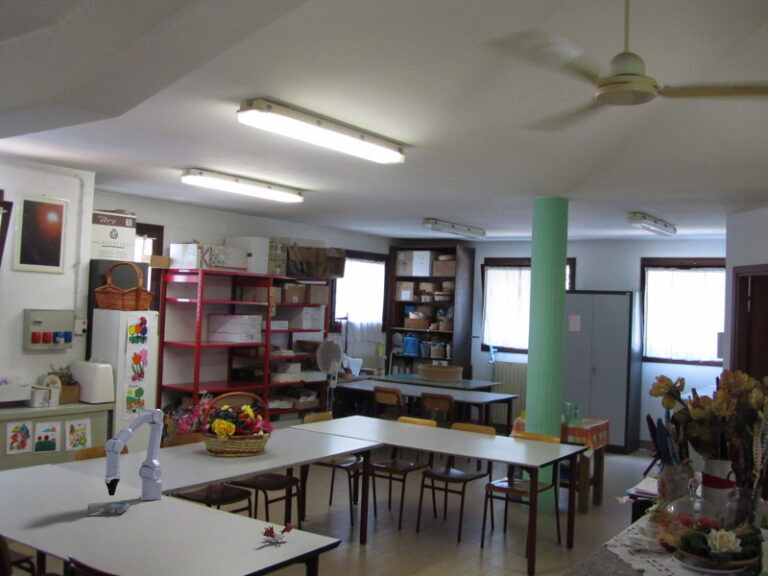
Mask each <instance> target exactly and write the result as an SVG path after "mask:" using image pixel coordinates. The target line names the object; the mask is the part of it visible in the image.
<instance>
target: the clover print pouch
mask: <svg viewBox="0 0 768 576" xmlns="http://www.w3.org/2000/svg"><path fill="white" fill-rule="evenodd" d="M110 502H111V503H110V504H108V505H107V506H105V507H104V511H105V512H108V513H111V514H112V513H114V514H117V515H118V514H123V513H124V512H125V511H127V510H128V509H129V508H130V507H131V504H130V503H128V502H118V501H110Z"/></svg>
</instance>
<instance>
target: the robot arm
mask: <svg viewBox="0 0 768 576" xmlns="http://www.w3.org/2000/svg"><path fill="white" fill-rule="evenodd" d="M164 416H165V413H164V412H163V411H162V410H161V409H159V408H151V407H143V408H141V410H140V411H138V415H137V417H135V419H134V420H133V421H132V422H131V423H130V424H129V425H128V426H127V428H126V427H123V428H121V429H120V431H119V432H118V433H117V434H116V435H114V437H112V438H110V439H108V440H106V442H105V444H104V446H103V447H104V450H105V455H106V464H105V465H106V466H105V467H106V468H105V478H104V484H105V485H106V488H107V491H108V496H110V497H111V496H112V497H113V496H115V495H116V491H117V487H118V484H119V482H120V478H121V477H122V476H123V475H122V474H121V472H120V462H121V460H120V459H121V452H122V451H123V449H124V447H125V444H127V442H128V441H129V440H131V438H133V433H134V432H135V431H137V430H138V429H139V428H140V427H142V425H144V424H147V425H149V427H150V432H149V439H148V440H149V441H148V447H147V450H146V458H145V460H143V461H142V462H141V465H140V468H139V470H138V475H139V477H140V480H141V495H140V501H153V500H155V501H156V500H157V501H158V500H162V495H163V491H162V487H163V486H162V479H160V478H161V476H162V464H161V462H159V453H160V445H161V441H162V435H163V428H164Z"/></svg>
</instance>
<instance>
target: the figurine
mask: <svg viewBox="0 0 768 576" xmlns="http://www.w3.org/2000/svg"><path fill="white" fill-rule="evenodd" d="M286 523H287V524H286V525H285V527H284V528H283V529H282V530H279V531H276V532H275V529H274V525H272V526H270V525H269V526H268V527H263V528H264V531H261V532H260V534H261V535H263V537H266V541H268V542H272V541H275V543H277V542H279V541H281V542H283V541H284V540H283V539H284V538H285V537H286V536H285V534H284V533H290V532H291V531H292V530H294V528H293V524H291V523H290V522H286Z"/></svg>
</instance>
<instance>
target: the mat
mask: <svg viewBox="0 0 768 576" xmlns="http://www.w3.org/2000/svg"><path fill="white" fill-rule="evenodd" d="M111 502H112V501H110V502H109V501H106V502H105V501H104V502H93V503H92V502H91V503H90V502H89V505H88V516H87V517H88V518H90V517H101V516H103V517H106V516H117V515H118V514H114V513H112V514H111V513H108V512H105V511H104V507H105V506H107V505H108V504H110V503H111Z"/></svg>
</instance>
